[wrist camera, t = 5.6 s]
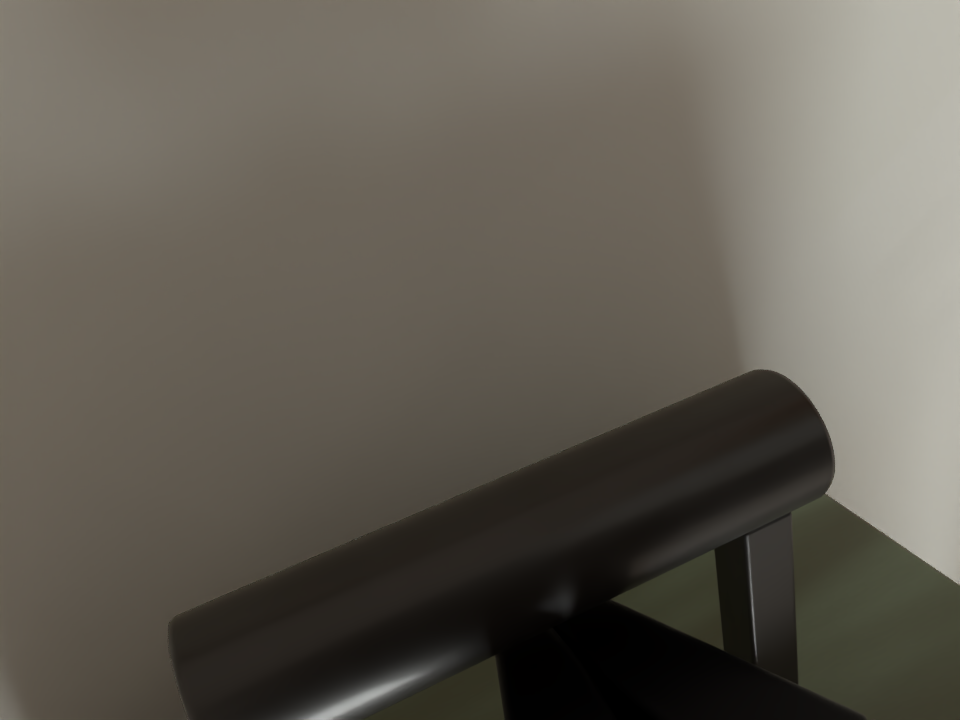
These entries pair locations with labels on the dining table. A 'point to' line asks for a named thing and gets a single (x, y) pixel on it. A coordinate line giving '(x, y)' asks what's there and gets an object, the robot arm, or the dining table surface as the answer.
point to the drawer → (596, 579)
